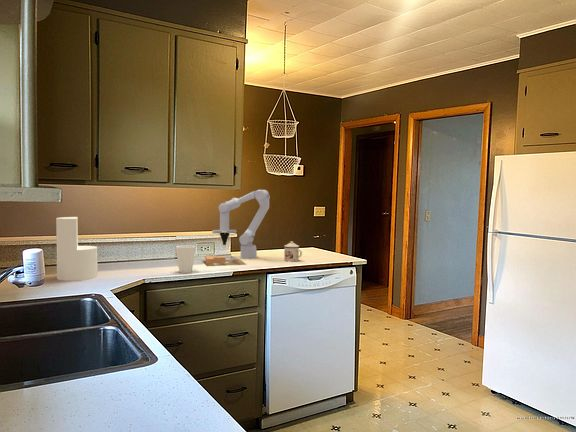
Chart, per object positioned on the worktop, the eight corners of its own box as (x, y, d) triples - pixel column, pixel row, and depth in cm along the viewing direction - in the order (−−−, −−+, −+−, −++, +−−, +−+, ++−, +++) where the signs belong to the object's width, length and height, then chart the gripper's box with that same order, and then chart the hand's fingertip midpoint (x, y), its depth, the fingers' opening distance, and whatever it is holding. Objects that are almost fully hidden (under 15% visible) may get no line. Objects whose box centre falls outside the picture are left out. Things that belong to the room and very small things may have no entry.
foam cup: (198, 270, 230) (198, 245, 230) (188, 273, 222) (188, 247, 221) (182, 269, 233) (182, 245, 233) (172, 272, 225) (172, 246, 224)
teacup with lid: (280, 260, 268) (281, 241, 268) (290, 259, 276) (290, 240, 275) (296, 262, 261) (297, 243, 260) (305, 261, 268) (306, 241, 268)
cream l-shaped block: (55, 281, 199) (54, 219, 197) (58, 275, 214) (57, 216, 213) (97, 279, 205) (97, 218, 204) (97, 272, 221) (96, 216, 220)
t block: (223, 260, 258) (223, 255, 258) (226, 263, 246) (226, 258, 246) (205, 261, 255) (205, 255, 255) (207, 264, 244) (207, 259, 243)
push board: (238, 261, 264) (238, 259, 264) (247, 266, 245) (247, 264, 245) (201, 262, 257) (201, 260, 257) (206, 268, 238) (206, 266, 238)
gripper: (234, 222, 280) (234, 243, 280) (211, 222, 275) (211, 244, 275) (237, 223, 273) (237, 245, 274) (213, 223, 268) (213, 245, 269)
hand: (224, 244), depth 274 cm, fingers closed
